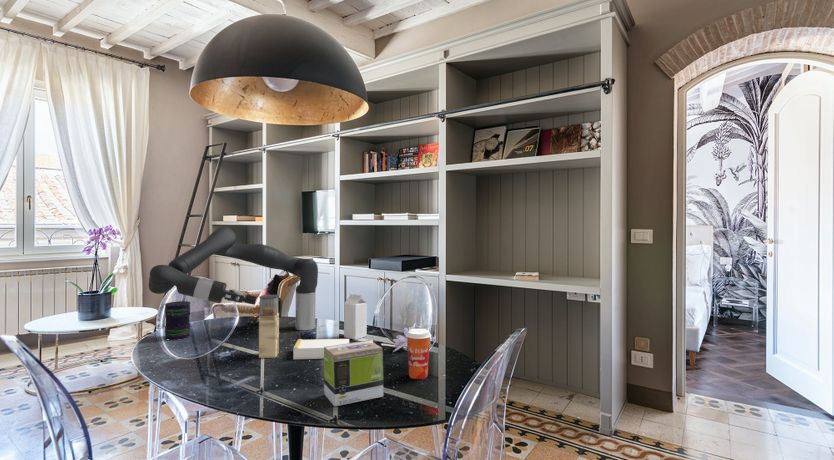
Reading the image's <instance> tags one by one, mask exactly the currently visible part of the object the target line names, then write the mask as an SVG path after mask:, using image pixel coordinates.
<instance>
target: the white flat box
mask: <svg viewBox="0 0 834 460" xmlns="http://www.w3.org/2000/svg"><path fill="white" fill-rule="evenodd" d="M347 343H350V338H331V339H330V338H329V339H328V338H326V339H324V338H321V339H320V338H317V339H302V338H298V339H297V340H296V343H295V344H294V346H293V354H292V355H293V359H292V360H313V359H314V360H316V359H323V360H324V347H327V346H334V345H341V344H347Z"/></svg>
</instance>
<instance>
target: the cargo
mask: <svg viewBox="0 0 834 460" xmlns="http://www.w3.org/2000/svg"><path fill="white" fill-rule="evenodd" d="M275 315H276V307H265V308H263V309H262V316H275Z"/></svg>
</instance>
